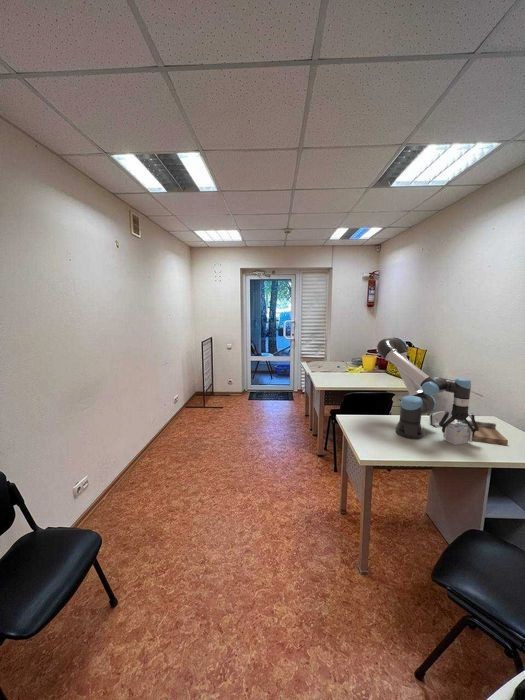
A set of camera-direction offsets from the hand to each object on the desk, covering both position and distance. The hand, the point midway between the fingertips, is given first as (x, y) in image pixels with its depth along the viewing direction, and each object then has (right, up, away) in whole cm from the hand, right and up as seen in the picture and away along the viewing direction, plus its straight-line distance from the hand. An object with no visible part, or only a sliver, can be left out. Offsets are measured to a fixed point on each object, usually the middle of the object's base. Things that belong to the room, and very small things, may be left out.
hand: (456, 439), depth 161 cm
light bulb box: (0, -2, 0) cm, 2 cm away
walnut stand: (+20, 0, +8) cm, 21 cm away
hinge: (+7, +2, +25) cm, 26 cm away
